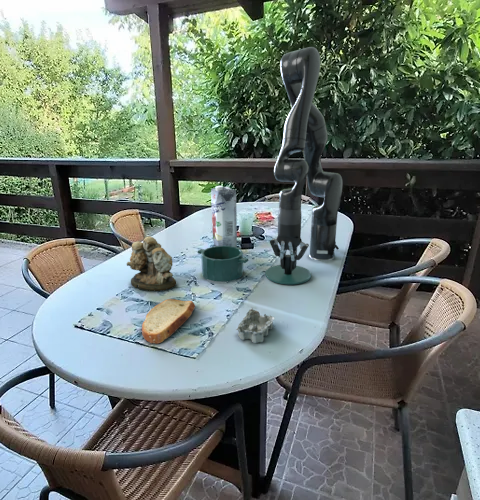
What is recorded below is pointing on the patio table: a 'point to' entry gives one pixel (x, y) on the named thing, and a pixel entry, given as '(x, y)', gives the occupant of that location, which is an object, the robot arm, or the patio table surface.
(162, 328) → the bread slice
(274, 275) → the lid
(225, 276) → the pot
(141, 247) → the owl figurine
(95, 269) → the patio table surface
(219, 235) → the juice carton
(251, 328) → the egg carton
